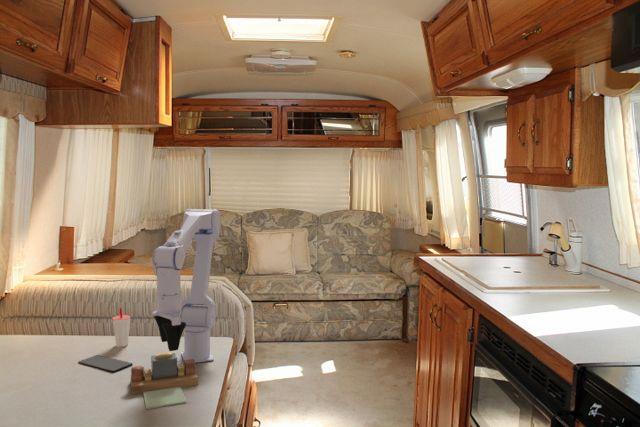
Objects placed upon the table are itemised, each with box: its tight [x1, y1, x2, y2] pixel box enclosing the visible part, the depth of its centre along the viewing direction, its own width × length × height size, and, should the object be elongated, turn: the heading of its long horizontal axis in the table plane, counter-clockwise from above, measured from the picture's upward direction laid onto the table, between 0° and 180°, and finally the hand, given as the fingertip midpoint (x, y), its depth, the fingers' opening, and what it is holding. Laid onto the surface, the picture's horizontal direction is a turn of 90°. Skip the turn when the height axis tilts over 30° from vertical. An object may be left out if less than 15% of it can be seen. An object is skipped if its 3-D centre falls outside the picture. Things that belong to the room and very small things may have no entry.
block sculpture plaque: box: [130, 359, 199, 395], centre depth 132 cm, size 8×16×5 cm, turn 113°
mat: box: [142, 387, 187, 410], centre depth 124 cm, size 9×9×1 cm
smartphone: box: [78, 354, 133, 374], centre depth 145 cm, size 7×1×15 cm
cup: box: [111, 307, 131, 348], centre depth 161 cm, size 5×5×12 cm
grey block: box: [150, 351, 178, 380], centre depth 132 cm, size 4×6×6 cm, turn 113°
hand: (169, 345), depth 131 cm, fingers open, 7 cm apart
